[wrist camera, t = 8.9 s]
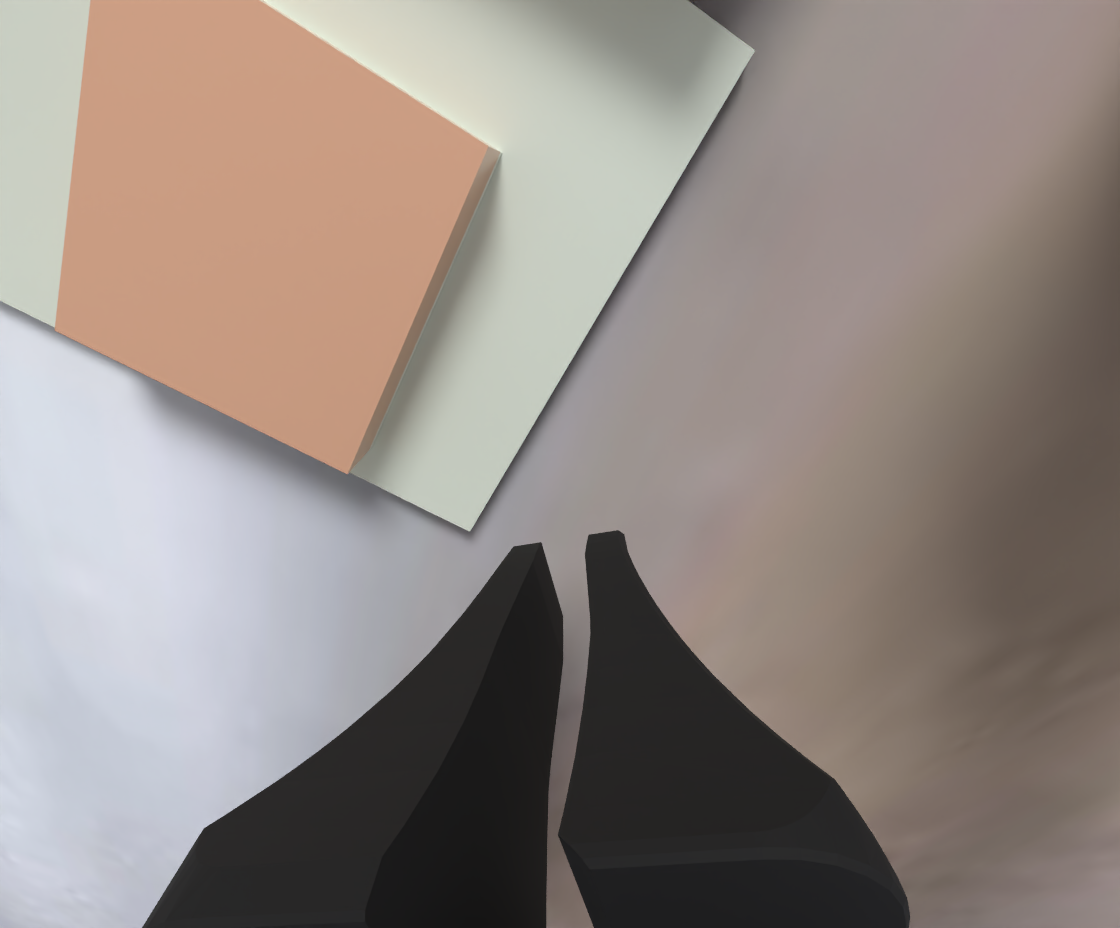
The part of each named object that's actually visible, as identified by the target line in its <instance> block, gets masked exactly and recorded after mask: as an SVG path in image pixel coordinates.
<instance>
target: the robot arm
mask: <svg viewBox="0 0 1120 928" xmlns="http://www.w3.org/2000/svg"><path fill="white" fill-rule="evenodd" d="M585 559H586V572H587V584H588V596H589V608H590V631H591V635H590V647H589V658H588V669H587V678H586V686H585V695H584V703H583V711H582V717H581V723H580V730H579V736H578V742H577V748H576V755H575V760H574V765H573V770H572V774H571V779H570V784H569V789H568V794H567V798H566V803H565V808H564V813H563V817H562V821H561V825H560V829H559V833H558V836H559V838H560V841H561V844H562V846H563V849H564V851H565V854H566V856H567V859H568V862H569V864H570V867H571V869H572V872H573V875H574V877H575V880H576V882H577V885H578V887H579V890H580V893H581V895H582V898H583V900H584V903H585V905H586V908H587V911H588V913H589V916H590V918H591V921H592V923H593V926H594V928H909V921H910V913H909V907H908V901H907V897H906V895H905V892H904V890H903V888H902V886H901V884H900V881H899V879H898V877H897V875H896V873H895V872H894V870H893V868H892V866H891V864H890V863H889V861H888V859H887V857H886V855H885V854H884V852H883V850H882V849H881V847H880V845H879V844H878V842H877V840H876V838H875V837H874V835H873V834H872V832H871V831H870V829H869V828H868V826H867V825H866V823H865V822H864V820H863V819H862V817H861V816H860V814H859V813H858V811H857V810H856V808H855V807H854V805H853V804H852V803H851V801H850V800H849V798H848V797H847V796H846V794H845V793H844V791H843V790H842V789H841V787H840V786H839V785H838V783H837V782H836V780H835V779H833V778H832V777H831V776H830V775H828V774H827V773H826V772H824V771H823V770H822V769H820V768H819V767H818V766H816V765H815V764H814V763H812V762H811V761H810V760H808V759H807V758H806V757H805V756H803V755H802V754H801V753H800V752H798V751H797V750H796V749H795V748H793V747H792V746H791V745H790V744H788V743H787V742H786V741H785V740H783V739H782V738H781V737H780V736H779V735H777V734H776V733H775V732H774V731H773V730H772V729H770V728H769V727H768V726H767V725H766V724H765V723H764V722H762V721H761V720H760V719H759V718H758V717H757V716H755V715H754V714H753V713H752V712H751V711H750V710H749V709H748V708H747V707H746V706H745V705H744V704H743V703H742V702H741V701H740V700H738V699H737V698H736V697H735V696H734V695H733V694H732V693H731V692H730V691H729V690H728V689H727V688H726V687H725V686H724V685H723V684H722V683H721V682H720V681H719V680H718V679H717V678H716V677H715V676H714V675H713V674H712V673H711V672H710V671H709V670H708V669H707V668H706V666H705V665H704V664H703V663H702V662H701V661H700V660H699V659H698V658H697V657H696V655H695V654H694V653H693V652H692V651H691V650H690V648H689V647H688V646H687V645H686V644H685V642H684V641H683V640H682V639H681V638H680V636H679V635H678V634H677V632H676V631H675V630H674V629H673V627H672V626H671V625H670V623H669V622H668V620H667V619H666V618H665V616H664V615H663V613H662V612H661V610H660V609H659V608H658V606H657V605H656V603H655V602H654V600H653V598H652V597H651V595H650V594H649V592H648V590H647V589H646V587H645V585H644V583H643V582H642V580H641V578H640V577H639V575H638V573H637V571H636V569H635V567H634V565H633V563H632V560H631V558H630V556H629V553H628V550H627V545H626V541H625V536H624V534H623V533H621V532H620V531H618V530H617V531H611V532H604V533H598V534H591V535H589V536H588V540H587V545H586V551H585ZM562 666H563V615H562V611H561V608H560V605H559V601H558V598H557V594H556V591H555V588H554V584H553V581H552V577H551V574H550V571H549V567H548V564H547V560H546V557H545V553H544V550H543V547H542V543H541V542H540V543H534V544H527V545H521V546H514V547H513V548H512V549H511V551H510V552H509V553H508V555H507V556H506V557H505V559H504V560H503V561H502V563H501V564H500V565H499V567H498V568H497V569H496V571H495V572H494V574H493V575H492V576H491V578H490V579H489V580H488V582H487V583H486V584H485V586H484V587H483V589H482V590H481V591H480V593H479V594H478V595H477V596H476V598H475V599H474V600H473V602H472V603H471V604H470V605H469V607H468V608H467V609H466V611H465V612H464V613H463V614H462V616H461V617H460V618H459V619H458V620H457V621H456V623H455V624H454V625H453V626H452V627H451V629H450V630H449V631H448V632H447V633H446V634H445V636H444V637H443V638H442V639H441V640H440V641H439V643H438V644H437V645H436V646H435V647H434V648H433V649H432V650H431V652H430V653H429V654H428V655H427V656H426V657H425V658H424V659H423V660H422V661H421V662H420V663H419V664H418V665H417V666H416V667H415V668H414V669H413V670H412V671H411V672H410V673H409V674H408V675H407V676H406V677H405V678H404V679H403V680H402V681H401V682H400V683H399V684H398V685H397V686H396V687H395V688H394V689H393V690H391V691H390V692H389V693H388V694H387V695H386V696H385V697H384V698H382V699H381V700H380V701H379V702H378V703H377V704H375V705H374V706H373V707H372V708H371V709H370V710H368V711H367V712H366V713H365V714H364V715H363V716H362V717H360V718H359V719H358V720H357V721H356V722H355V723H353V724H352V725H351V726H350V727H349V728H348V729H346V730H345V731H344V732H343V733H341V734H340V735H339V736H337V737H336V738H335V739H334V740H332V741H331V742H330V743H328V744H327V745H326V746H325V747H323V748H322V749H321V750H319V751H318V752H317V753H315V754H314V755H313V756H311V757H310V758H309V759H307V760H306V761H304V762H303V763H302V764H300V765H299V766H298V767H296V768H295V769H294V770H292V771H291V772H289V773H288V774H286V775H285V776H284V777H282V778H281V779H279V780H278V781H276V782H275V783H273V784H272V785H270V786H269V787H267V788H266V789H264V790H263V791H261V792H260V793H258V794H257V795H255V796H254V797H252V798H251V799H249V800H248V801H246V802H244V803H243V804H241V805H240V806H238V807H237V808H235V809H234V810H232V811H231V812H229V813H228V814H226V815H225V816H223V817H222V818H220V819H218V820H217V821H215V822H213V823H212V824H210V825H209V826H207V827H205V828H204V829H203V831H202V832H201V834H200V835H199V837H198V839H197V840H196V842H195V843H194V845H193V847H192V848H191V850H190V851H189V853H188V855H187V856H186V858H185V859H184V861H183V863H182V864H181V866H180V868H179V869H178V871H177V872H176V874H175V876H174V877H173V879H172V880H171V882H170V884H169V885H168V887H167V888H166V890H165V892H164V893H163V895H162V897H161V898H160V900H159V901H158V903H157V905H156V906H155V908H154V909H153V911H152V913H151V914H150V916H149V917H148V919H147V921H146V922H145V924H144V926H143V927H142V928H546V881H547V825H548V790H549V777H550V765H551V757H552V749H553V741H554V732H555V724H556V716H557V708H558V700H559V692H560V683H561V675H562Z"/></svg>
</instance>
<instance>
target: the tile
mask: <svg viewBox="0 0 1120 928" xmlns="http://www.w3.org/2000/svg"><path fill="white" fill-rule="evenodd" d="M501 154H502V152H500V151H499V150H497V149H496V148H494V147H492V146H491V145H489V144H488V143H486V142H485V141H483V140H481V139H480V138H478V137H477V136H475V135H474V134H472V133H470V132H469V131H467V130H466V129H464V128H463V127H461V126H460V125H458V124H456V123H455V122H453V121H452V120H450V119H449V118H447V117H445V116H444V115H442V114H441V113H439V112H438V111H436V110H434V109H433V108H431V107H430V106H428V105H427V104H425V103H423V102H422V101H420V100H419V99H417V98H416V97H414V96H413V95H411V94H409V93H408V92H406V91H405V90H403V89H402V88H400V87H398V86H397V85H395V84H394V83H392V82H391V81H389V80H387V79H386V78H384V77H383V76H381V75H380V74H378V73H376V72H375V71H373V70H372V69H370V68H369V67H367V66H365V65H364V64H362V63H361V62H359V61H358V60H356V59H355V58H353V57H351V56H350V55H348V54H347V53H345V52H344V51H342V50H340V49H339V48H337V47H336V46H334V45H333V44H331V43H329V42H328V41H326V40H325V39H323V38H322V37H320V36H318V35H317V34H315V33H314V32H312V31H311V30H309V29H308V28H306V27H304V26H303V25H301V24H300V23H298V22H297V21H295V20H293V19H292V18H290V17H289V16H287V15H286V14H284V13H282V12H281V11H279V10H278V9H276V8H275V7H273V6H271V5H270V4H268V3H267V2H265V1H264V0H90V9H89V18H88V27H87V36H86V46H85V55H84V64H83V73H82V82H81V92H80V101H79V110H78V119H77V128H76V138H75V147H74V156H73V165H72V174H71V184H70V193H69V202H68V211H67V220H66V230H65V239H64V248H63V257H62V266H61V276H60V285H59V294H58V303H57V312H56V322H55V331H56V332H59V333H61V334H63V335H65V336H67V337H69V338H71V339H73V340H75V341H77V342H79V343H81V344H83V345H85V346H87V347H89V348H91V349H93V350H95V351H97V352H99V353H101V354H103V355H105V356H107V357H109V358H111V359H113V360H116V361H118V362H120V363H122V364H124V365H126V366H128V367H130V368H132V369H134V370H136V371H138V372H140V373H142V374H144V375H146V376H148V377H150V378H152V379H154V380H156V381H158V382H160V383H162V384H164V385H166V386H168V387H171V388H173V389H175V390H177V391H179V392H181V393H183V394H185V395H187V396H189V397H191V398H193V399H195V400H197V401H199V402H201V403H203V404H205V405H207V406H209V407H211V408H213V409H215V410H217V411H219V412H221V413H223V414H226V415H228V416H230V417H232V418H234V419H236V420H238V421H240V422H242V423H244V424H246V425H248V426H250V427H252V428H254V429H256V430H258V431H260V432H262V433H264V434H266V435H268V436H270V437H272V438H274V439H276V440H278V441H281V442H283V443H285V444H287V445H289V446H291V447H293V448H295V449H297V450H299V451H301V452H303V453H305V454H307V455H309V456H311V457H313V458H315V459H317V460H319V461H321V462H323V463H325V464H327V465H329V466H331V467H333V468H335V469H338V470H340V471H342V472H344V473H346V474H348V473H349V472H350V471H351V470H352V469H353V468H354V467H355V465H356V464H357V463H358V462H359V461H360V460H361V459H362V458H363V457H364V455H365V454H366V453H367V452H368V451H369V450H370V449H371V448H372V446H373V443H374V441H375V439H376V437H377V434H378V432H379V430H380V428H381V425H382V423H383V421H384V419H385V416H386V414H387V412H388V410H389V407H390V405H391V403H392V401H393V398H394V396H395V394H396V392H397V389H398V387H399V385H400V382H401V380H402V378H403V376H404V373H405V371H406V369H407V367H408V364H409V362H410V360H411V358H412V355H413V353H414V351H415V349H416V346H417V344H418V342H419V340H420V337H421V335H422V333H423V331H424V328H425V326H426V324H427V321H428V319H429V317H430V315H431V312H432V310H433V308H434V306H435V303H436V301H437V299H438V297H439V294H440V292H441V290H442V288H443V285H444V283H445V281H446V279H447V276H448V274H449V272H450V270H451V267H452V265H453V263H454V261H455V258H456V256H457V254H458V251H459V249H460V247H461V245H462V242H463V240H464V238H465V236H466V233H467V231H468V229H469V227H470V224H471V222H472V220H473V218H474V215H475V213H476V211H477V209H478V206H479V204H480V202H481V200H482V197H483V195H484V193H485V190H486V188H487V186H488V184H489V181H490V179H491V177H492V175H493V172H494V170H495V168H496V166H497V163H498V161H499V159H500V157H501Z"/></svg>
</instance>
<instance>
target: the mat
mask: <svg viewBox="0 0 1120 928" xmlns="http://www.w3.org/2000/svg"><path fill="white" fill-rule="evenodd" d="M264 1H265V2H267V3H268V4H270V5H271V6H273V7H275V8H276V9H278V10H279V11H281V12H282V13H284V14H286V15H287V16H289V17H290V18H292V19H293V20H295V21H297V22H298V23H300V24H301V25H303V26H304V27H306V28H308V29H309V30H311V31H312V32H314V33H315V34H317V35H318V36H320V37H322V38H323V39H325V40H326V41H328V42H329V43H331V44H333V45H334V46H336V47H337V48H339V49H340V50H342V51H344V52H345V53H347V54H348V55H350V56H351V57H353V58H355V59H356V60H358V61H359V62H361V63H362V64H364V65H365V66H367V67H369V68H370V69H372V70H373V71H375V72H376V73H378V74H380V75H381V76H383V77H384V78H386V79H387V80H389V81H391V82H392V83H394V84H395V85H397V86H398V87H400V88H402V89H403V90H405V91H406V92H408V93H409V94H411V95H413V96H414V97H416V98H417V99H419V100H420V101H422V102H423V103H425V104H427V105H428V106H430V107H431V108H433V109H434V110H436V111H438V112H439V113H441V114H442V115H444V116H445V117H447V118H449V119H450V120H452V121H453V122H455V123H456V124H458V125H460V126H461V127H463V128H464V129H466V130H467V131H469V132H470V133H472V134H474V135H475V136H477V137H478V138H480V139H481V140H483V141H485V142H486V143H488V144H489V145H491V146H492V147H494V148H496V149H497V150H499V151H500V152H502V154H501V157H500V159H499V161H498V163H497V166H496V168H495V170H494V172H493V175H492V177H491V179H490V181H489V184H488V186H487V188H486V190H485V193H484V195H483V197H482V200H481V202H480V204H479V206H478V209H477V211H476V213H475V215H474V218H473V220H472V222H471V224H470V227H469V229H468V231H467V233H466V236H465V238H464V240H463V242H462V245H461V247H460V249H459V251H458V254H457V256H456V258H455V261H454V263H453V265H452V267H451V270H450V272H449V274H448V276H447V279H446V281H445V283H444V285H443V288H442V290H441V292H440V294H439V297H438V299H437V301H436V303H435V306H434V308H433V310H432V312H431V315H430V317H429V319H428V321H427V324H426V326H425V328H424V331H423V333H422V335H421V337H420V340H419V342H418V344H417V346H416V349H415V351H414V353H413V355H412V358H411V360H410V362H409V364H408V367H407V369H406V371H405V373H404V376H403V378H402V380H401V382H400V385H399V387H398V389H397V392H396V394H395V396H394V398H393V401H392V403H391V405H390V407H389V410H388V412H387V414H386V416H385V419H384V421H383V423H382V425H381V428H380V430H379V432H378V434H377V437H376V439H375V441H374V443H373V446H372V448H371V449H370V450H369V451H368V452H367V453H366V454H365V455H364V457H363V458H362V459H361V460H360V461H359V462H358V463H357V464H356V465H355V467H354V468H353V469H352V470H351V471H350V472H349V473H351V474H353V475H355V476H357V477H359V478H361V479H363V480H365V481H367V482H369V483H372V484H374V485H376V486H378V487H380V488H382V489H384V490H386V491H388V492H390V493H392V494H394V495H396V496H398V497H400V498H402V499H404V500H406V501H408V502H410V503H412V504H414V505H416V506H418V507H420V508H422V509H424V510H426V511H428V512H430V513H433V514H435V515H437V516H439V517H441V518H443V519H445V520H447V521H449V522H451V523H453V524H455V525H457V526H459V527H461V528H463V529H465V530H467V531H469V532H470V531H471V529H472V527H473V526H474V524H475V522H476V521H477V519H478V517H479V515H480V514H481V512H482V510H483V509H484V507H485V505H486V504H487V502H488V500H489V499H490V497H491V495H492V494H493V492H494V490H495V488H496V487H497V485H498V483H499V482H500V480H501V478H502V477H503V475H504V473H505V472H506V470H507V468H508V467H509V465H510V463H511V461H512V460H513V458H514V456H515V455H516V453H517V451H518V450H519V448H520V446H521V445H522V443H523V441H524V440H525V438H526V436H527V434H528V433H529V431H530V429H531V428H532V426H533V424H534V423H535V421H536V419H537V418H538V416H539V414H540V413H541V411H542V409H543V407H544V406H545V404H546V402H547V401H548V399H549V397H550V396H551V394H552V392H553V391H554V389H555V387H556V386H557V384H558V382H559V381H560V379H561V377H562V375H563V374H564V372H565V370H566V369H567V367H568V365H569V364H570V362H571V360H572V359H573V357H574V355H575V354H576V352H577V350H578V348H579V347H580V345H581V343H582V342H583V340H584V338H585V337H586V335H587V333H588V332H589V330H590V328H591V327H592V325H593V323H594V321H595V320H596V318H597V316H598V315H599V313H600V311H601V310H602V308H603V306H604V305H605V303H606V301H607V300H608V298H609V296H610V294H611V293H612V291H613V289H614V288H615V286H616V284H617V283H618V281H619V279H620V278H621V276H622V274H623V273H624V271H625V269H626V267H627V266H628V264H629V262H630V261H631V259H632V257H633V256H634V254H635V252H636V251H637V249H638V247H639V246H640V244H641V242H642V240H643V239H644V237H645V235H646V234H647V232H648V230H649V229H650V227H651V225H652V224H653V222H654V220H655V219H656V217H657V215H658V213H659V212H660V210H661V208H662V207H663V205H664V203H665V202H666V200H667V198H668V197H669V195H670V193H671V192H672V190H673V188H674V186H675V185H676V183H677V181H678V180H679V178H680V176H681V175H682V173H683V171H684V170H685V168H686V166H687V165H688V163H689V161H690V159H691V158H692V156H693V154H694V153H695V151H696V149H697V148H698V146H699V144H700V143H701V141H702V139H703V138H704V136H705V134H706V132H707V131H708V129H709V127H710V126H711V124H712V122H713V121H714V119H715V117H716V116H717V114H718V112H719V111H720V109H721V107H722V105H723V104H724V102H725V100H726V99H727V97H728V95H729V94H730V92H731V90H732V89H733V87H734V85H735V84H736V82H737V80H738V78H739V77H740V75H741V73H742V72H743V70H744V68H745V67H746V65H747V63H748V62H749V60H750V58H751V57H752V55H753V53H754V51H755V50H754V49H753V48H751V47H750V46H748V45H747V44H746V43H744V42H743V41H742V40H740V39H739V38H738V37H736V36H735V35H734V34H732V33H731V32H730V31H728V30H727V29H726V28H724V27H723V26H722V25H720V24H719V23H718V22H716V21H715V20H714V19H712V18H711V17H710V16H708V15H707V14H706V13H704V12H703V11H702V10H700V9H699V8H698V7H696V6H695V5H694V4H692V3H691V2H689V1H688V0H264ZM89 9H90V0H0V301H2V302H4V303H6V304H8V305H10V306H12V307H14V308H16V309H18V310H20V311H22V312H24V313H26V314H28V315H30V316H32V317H34V318H36V319H38V320H40V321H42V322H44V323H46V324H48V325H50V326H52V327H54V328H55V322H56V312H57V303H58V294H59V285H60V276H61V266H62V257H63V248H64V239H65V230H66V220H67V211H68V202H69V193H70V184H71V174H72V165H73V156H74V147H75V138H76V128H77V119H78V110H79V101H80V92H81V82H82V73H83V64H84V55H85V46H86V36H87V27H88V18H89Z"/></svg>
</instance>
